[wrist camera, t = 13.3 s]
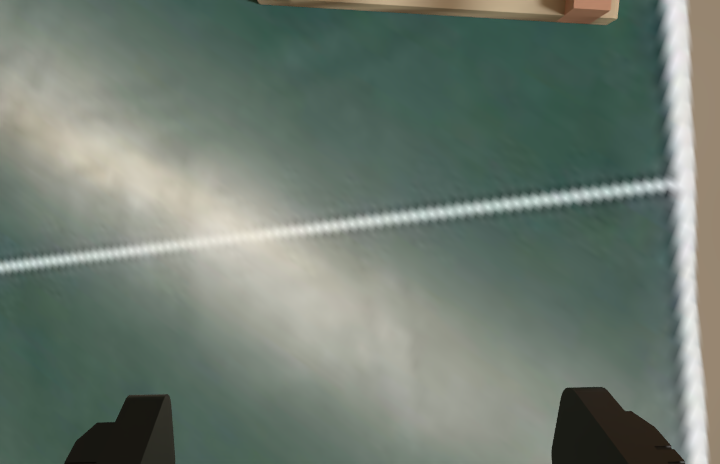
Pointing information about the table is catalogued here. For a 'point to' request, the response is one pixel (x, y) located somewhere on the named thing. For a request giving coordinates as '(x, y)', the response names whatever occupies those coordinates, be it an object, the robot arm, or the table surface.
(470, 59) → the table surface
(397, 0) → the frame
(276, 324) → the table surface
